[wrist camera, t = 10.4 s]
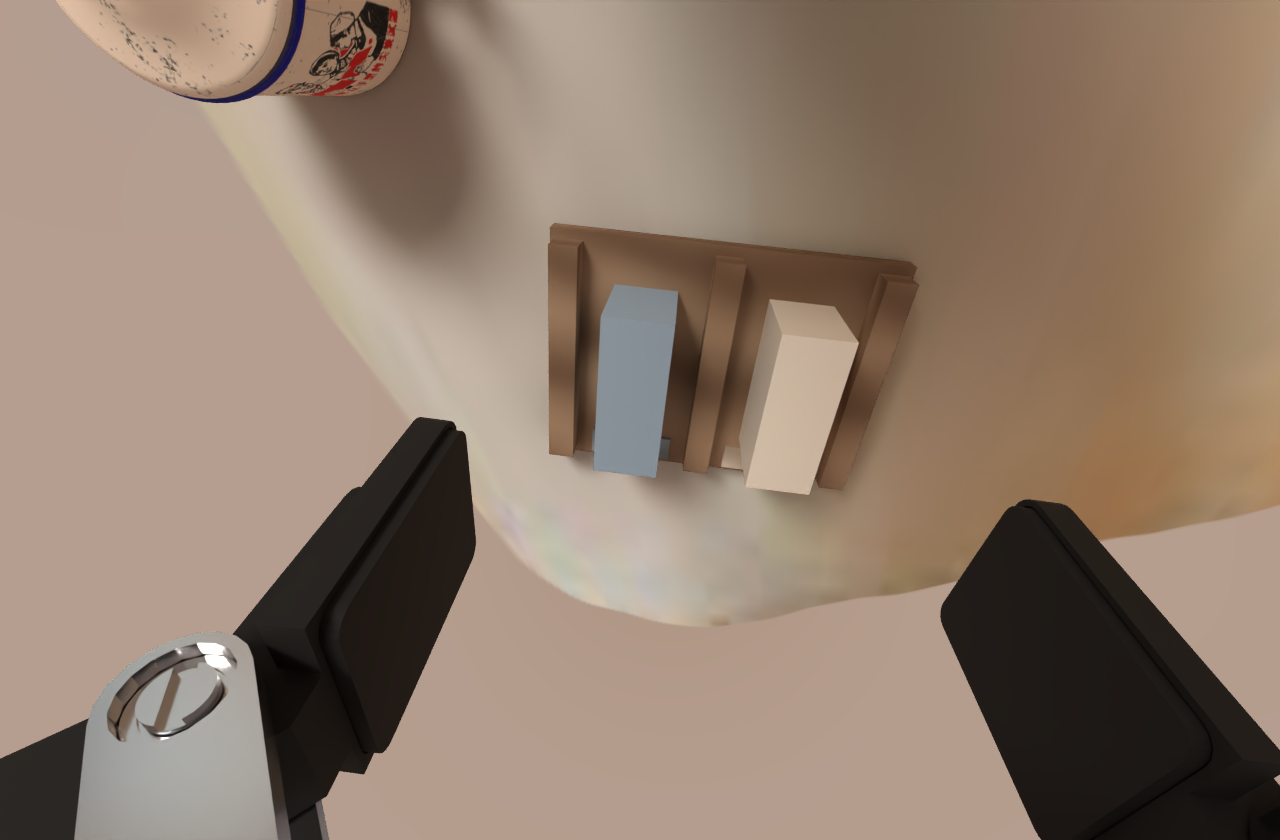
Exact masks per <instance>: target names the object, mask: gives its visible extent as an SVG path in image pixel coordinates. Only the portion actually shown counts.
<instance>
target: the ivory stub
mask: <svg viewBox="0 0 1280 840" xmlns="http://www.w3.org/2000/svg"><path fill="white" fill-rule="evenodd" d="M858 345H859V342H858V341H857V339H856V338H855V336H854V335H853V333H852V332H851V330H850V329H849V327H848V326H847V324H846V323H845V321H844V320H843V318H842V317H841V315H840V314H839V312H838V311H837V309H836V308H835V306H826V305H817V304H808V303H799V302H790V301H781V300H773V299H769V304H768V308H767V313H766V317H765V322H764V326H763V331H762V335H761V340H760V344H759V349H758V353H757V358H756V362H755V367H754V371H753V376H752V380H751V385H750V389H749V394H748V398H747V403H746V407H745V412H744V416H743V421H742V425H741V430H740V434H739V442H740V450H741V458H742V466H743V474H744V481H745V487H749V488H758V489H766V490H774V491H782V492H790V493H798V494H806V495H809V494H810V491H811V487H812V484H813V481H814V478H815V475H816V472H817V469H818V466H819V463H820V460H821V457H822V454H823V451H824V448H825V445H826V442H827V439H828V436H829V433H830V430H831V427H832V424H833V421H834V418H835V414H836V411H837V408H838V405H839V402H840V399H841V396H842V393H843V390H844V387H845V384H846V381H847V378H848V375H849V372H850V369H851V366H852V363H853V360H854V357H855V354H856V351H857V348H858Z"/></svg>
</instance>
